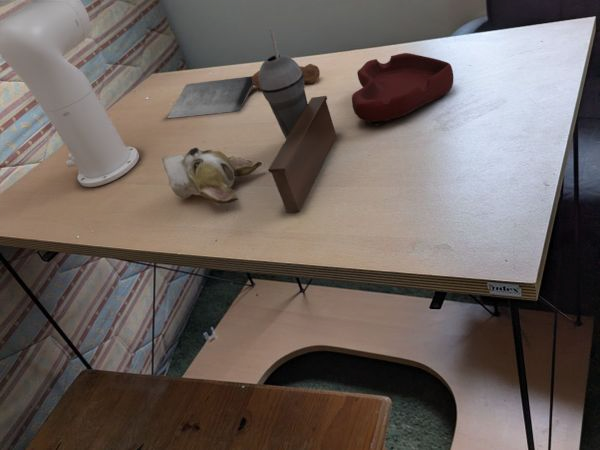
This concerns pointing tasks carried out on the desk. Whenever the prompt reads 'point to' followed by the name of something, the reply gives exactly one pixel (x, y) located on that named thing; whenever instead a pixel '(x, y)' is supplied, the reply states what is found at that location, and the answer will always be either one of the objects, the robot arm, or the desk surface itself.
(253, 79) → the meat cleaver
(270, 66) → the beverage cup
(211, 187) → the ceramic sculpture
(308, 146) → the backboard
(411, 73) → the ashtray
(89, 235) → the desk surface
